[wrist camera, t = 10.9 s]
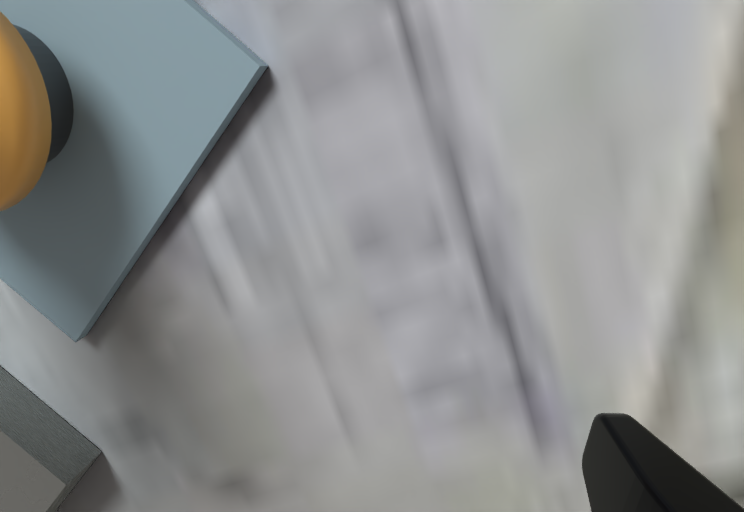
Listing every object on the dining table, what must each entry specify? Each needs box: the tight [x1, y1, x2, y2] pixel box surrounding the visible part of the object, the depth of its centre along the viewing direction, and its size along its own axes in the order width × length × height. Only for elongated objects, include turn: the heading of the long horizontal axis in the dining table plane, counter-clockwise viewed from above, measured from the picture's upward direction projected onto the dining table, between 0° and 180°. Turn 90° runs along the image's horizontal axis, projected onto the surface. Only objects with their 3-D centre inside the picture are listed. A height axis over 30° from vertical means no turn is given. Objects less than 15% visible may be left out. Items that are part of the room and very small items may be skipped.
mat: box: [0, 0, 268, 342], centre depth 20 cm, size 12×12×1 cm
